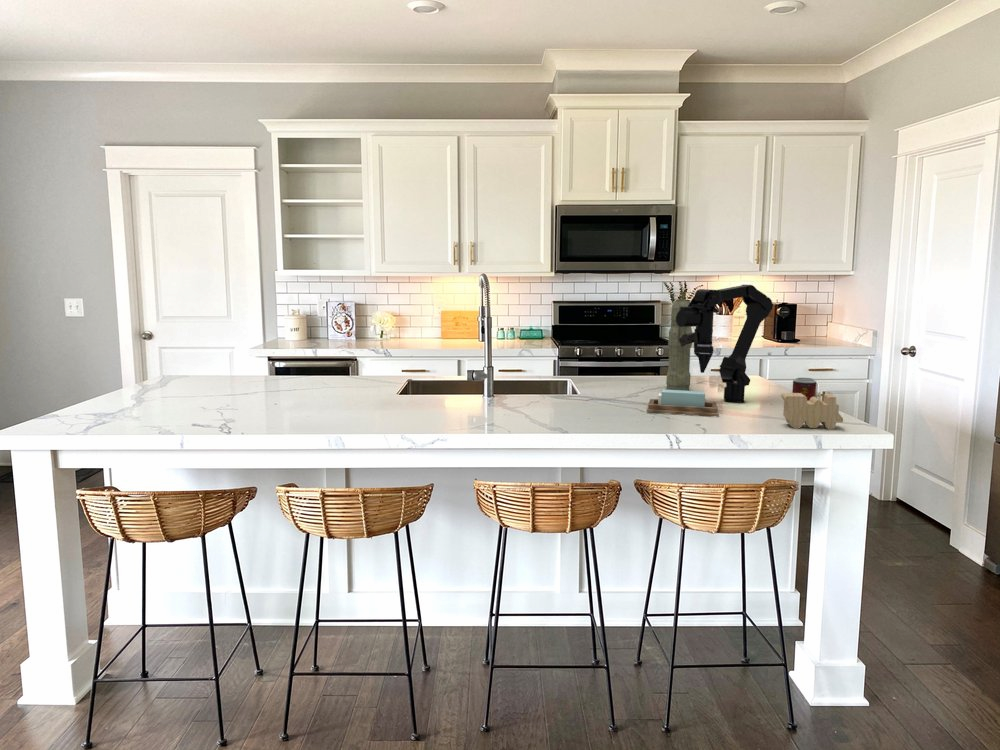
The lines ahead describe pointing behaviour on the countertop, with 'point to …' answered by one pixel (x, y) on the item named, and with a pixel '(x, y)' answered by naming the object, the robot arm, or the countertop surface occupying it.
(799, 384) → the soda can
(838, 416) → the toy train
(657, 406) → the tray
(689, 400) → the pale blue block
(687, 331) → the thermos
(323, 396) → the countertop surface
